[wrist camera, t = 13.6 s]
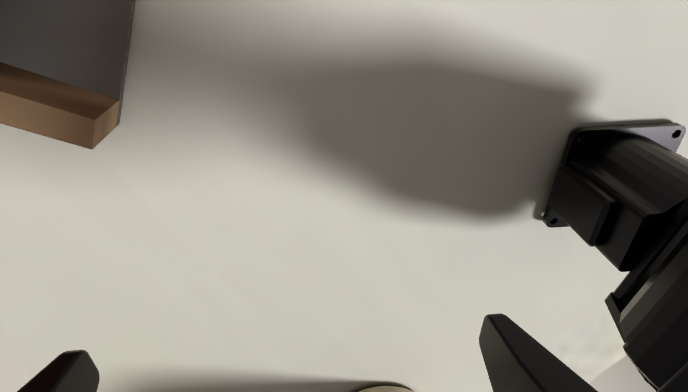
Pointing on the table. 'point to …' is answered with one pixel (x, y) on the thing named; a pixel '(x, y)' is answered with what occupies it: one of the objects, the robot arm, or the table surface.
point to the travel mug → (386, 389)
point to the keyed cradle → (64, 66)
